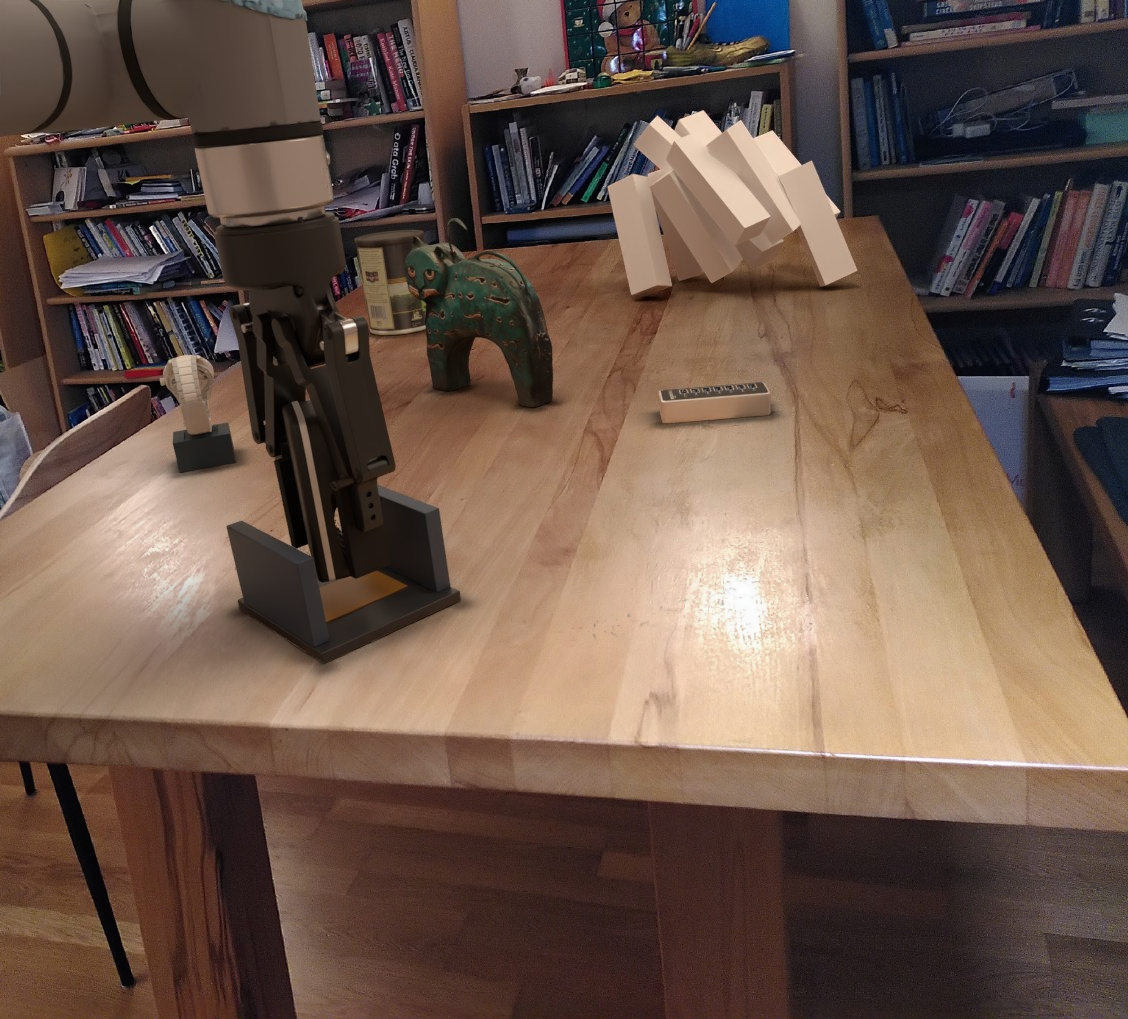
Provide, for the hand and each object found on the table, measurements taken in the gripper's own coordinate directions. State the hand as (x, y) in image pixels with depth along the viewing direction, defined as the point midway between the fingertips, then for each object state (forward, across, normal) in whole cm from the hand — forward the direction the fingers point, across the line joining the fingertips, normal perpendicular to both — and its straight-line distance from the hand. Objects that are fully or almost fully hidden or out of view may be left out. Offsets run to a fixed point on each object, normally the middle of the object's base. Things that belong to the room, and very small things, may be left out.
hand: (339, 554), depth 72 cm
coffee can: (+4, +76, -56) cm, 94 cm away
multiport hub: (+4, +7, -48) cm, 49 cm away
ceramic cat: (+4, +34, -40) cm, 53 cm away
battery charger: (+1, 0, 0) cm, 1 cm away
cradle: (+4, 0, 0) cm, 4 cm away
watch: (+4, +41, -8) cm, 42 cm away
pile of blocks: (+4, +48, -100) cm, 111 cm away
